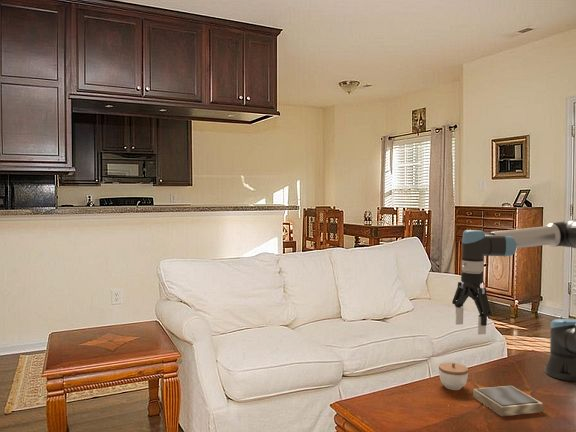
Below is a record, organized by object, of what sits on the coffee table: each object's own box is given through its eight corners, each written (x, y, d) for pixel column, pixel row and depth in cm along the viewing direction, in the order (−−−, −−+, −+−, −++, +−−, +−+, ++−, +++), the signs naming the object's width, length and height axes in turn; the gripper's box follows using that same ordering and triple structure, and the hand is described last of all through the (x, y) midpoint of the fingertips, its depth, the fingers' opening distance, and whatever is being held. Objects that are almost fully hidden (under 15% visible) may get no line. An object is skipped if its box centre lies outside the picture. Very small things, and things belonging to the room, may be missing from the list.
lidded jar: (470, 393, 180) (470, 369, 180) (440, 391, 182) (440, 366, 182) (465, 383, 190) (465, 359, 190) (437, 380, 193) (437, 357, 192)
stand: (511, 393, 181) (511, 384, 180) (542, 412, 165) (542, 402, 165) (472, 397, 177) (473, 388, 177) (501, 416, 161) (501, 406, 161)
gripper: (444, 267, 189) (442, 320, 190) (484, 277, 165) (482, 339, 166) (461, 266, 191) (459, 320, 192) (503, 277, 167) (501, 338, 168)
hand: (470, 329), depth 179 cm, fingers open, 13 cm apart
